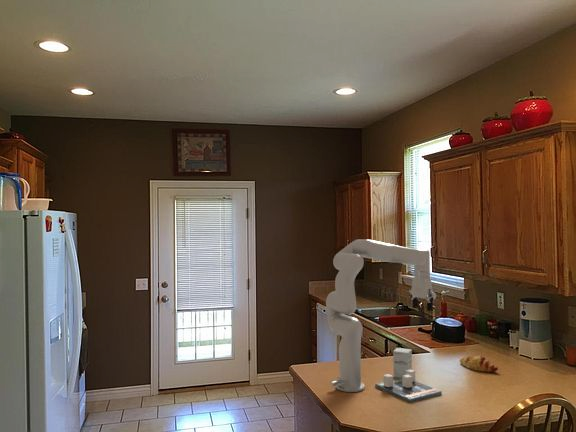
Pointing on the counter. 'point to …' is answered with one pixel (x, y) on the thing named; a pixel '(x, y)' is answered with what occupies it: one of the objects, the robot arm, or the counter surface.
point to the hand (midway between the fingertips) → (422, 309)
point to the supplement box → (402, 361)
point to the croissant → (478, 364)
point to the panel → (409, 390)
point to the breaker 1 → (388, 380)
